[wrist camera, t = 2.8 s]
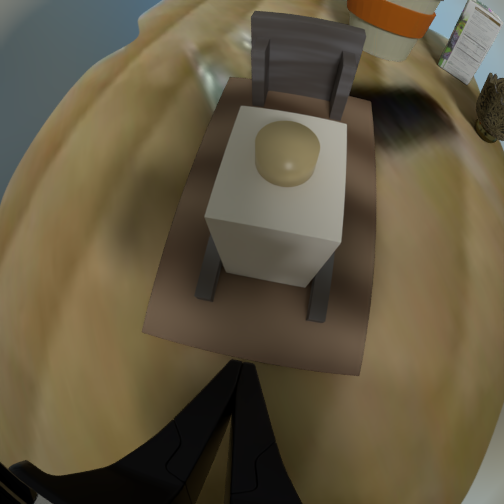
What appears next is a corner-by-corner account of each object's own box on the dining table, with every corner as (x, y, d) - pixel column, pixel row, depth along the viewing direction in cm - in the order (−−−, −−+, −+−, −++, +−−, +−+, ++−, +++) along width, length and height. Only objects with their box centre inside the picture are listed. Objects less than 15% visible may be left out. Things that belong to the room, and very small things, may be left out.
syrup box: (440, 55, 30) (467, -7, 16) (469, 75, 29) (500, 16, 15) (437, 65, 28) (468, -3, 15) (468, 87, 27) (505, 22, 13)
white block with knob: (305, 287, 17) (351, 229, 9) (226, 272, 18) (198, 201, 9) (317, 203, 19) (353, 106, 11) (246, 190, 20) (239, 86, 11)
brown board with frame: (354, 374, 17) (428, 391, 8) (147, 333, 18) (68, 318, 9) (368, 108, 24) (394, 38, 15) (230, 84, 25) (223, 9, 17)
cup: (452, 117, 24) (481, 72, 17) (473, 108, 25) (498, 70, 18) (492, 165, 22) (529, 126, 15) (508, 149, 23) (539, 116, 16)
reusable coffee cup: (390, 30, 31) (410, -38, 17) (432, 74, 27) (468, -4, 13) (322, 22, 31) (334, -58, 16) (359, 64, 27) (387, -37, 13)
